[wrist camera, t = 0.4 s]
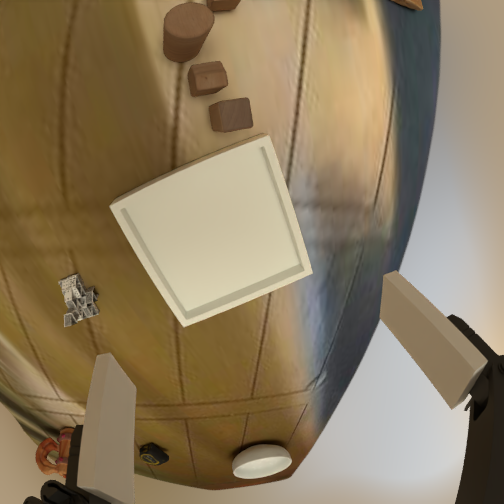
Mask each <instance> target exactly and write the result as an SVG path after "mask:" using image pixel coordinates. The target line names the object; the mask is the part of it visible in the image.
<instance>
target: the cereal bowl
mask: <svg viewBox="0 0 504 504" xmlns="http://www.w3.org/2000/svg"><path fill="white" fill-rule="evenodd" d="M291 463H292V459H291V457H290V454H289V453H288V451H287V450H286V449H284V448H283V447H280V446H278V445H267V444H259V445H254V446H251V447H249V448H247V449H246V450H244V451H242V452H241V453H239V454H238V455H237V456H236V457H235V459H234V460H233V464H232V468H233V473H234V475H235V476H237V477H240V478H260V477H265V476H269V475H272V474H275V473H278V472H280V471H282V470H284V469H286V468H287V467H288V466H289V465H290V464H291Z"/></svg>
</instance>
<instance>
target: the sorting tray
mask: <svg viewBox="0 0 504 504" xmlns="http://www.w3.org/2000/svg"><path fill="white" fill-rule="evenodd" d="M109 207H110V209H111V210H112V212H113V214H114V216H115V218H116V220H117V221H118V223H119V225H120V227H121V229H122V230H123V232H124V234H125V236H126V237H127V239H128V241H129V243H130V244H131V246H132V248H133V249H134V251H135V253H136V255H137V256H138V258H139V260H140V261H141V263H142V264H143V266H144V268H145V269H146V271H147V273H148V274H149V276H150V277H151V279H152V281H153V282H154V284H155V285H156V287H157V288H158V290H159V292H160V293H161V295H162V296H163V298H164V299H165V301H166V302H167V304H168V305H169V307H170V308H171V310H172V311H173V313H174V314H175V316H176V317H177V318H178V320H179V321H180V323H181V324H182V326H183V327H186V326H188V325H191V324H193V323H196V322H198V321H201V320H204V319H206V318H209V317H211V316H214V315H216V314H218V313H221V312H223V311H226V310H228V309H231V308H233V307H236V306H238V305H240V304H243V303H245V302H248V301H250V300H252V299H255V298H257V297H259V296H262V295H264V294H267V293H269V292H271V291H274V290H276V289H278V288H280V287H283V286H285V285H287V284H290V283H292V282H294V281H296V280H299V279H301V278H303V277H305V276H308V275H310V274H312V273H313V272H312V269H311V265H310V262H309V258H308V255H307V251H306V248H305V244H304V241H303V238H302V234H301V231H300V228H299V224H298V221H297V218H296V215H295V211H294V208H293V205H292V202H291V199H290V195H289V192H288V189H287V186H286V183H285V180H284V177H283V174H282V171H281V168H280V165H279V162H278V159H277V156H276V153H275V150H274V147H273V144H272V141H271V139H270V136H269V135H267V134H264V133H262V134H259V135H257V136H254V137H251V138H249V139H246V140H243V141H241V142H238V143H235V144H233V145H230V146H228V147H225V148H223V149H220V150H218V151H215V152H213V153H211V154H208V155H206V156H204V157H201V158H199V159H197V160H194V161H192V162H190V163H187V164H185V165H183V166H181V167H179V168H176V169H174V170H172V171H170V172H168V173H166V174H163V175H161V176H159V177H157V178H155V179H153V180H151V181H149V182H147V183H145V184H143V185H141V186H139V187H137V188H135V189H133V190H131V191H129V192H127V193H125V194H123V195H121V196H119V197H118V198H116V199H114V201H113V202H112V203H111V205H110V206H109Z"/></svg>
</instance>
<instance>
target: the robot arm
mask: <svg viewBox="0 0 504 504" xmlns="http://www.w3.org/2000/svg"><path fill="white" fill-rule="evenodd" d="M380 319H381V320H382V321H383V322H384V324H385V325H386V326H387V327H388V328H389V330H390V331H391V332H392V333H393V334H394V336H395V337H396V338H397V339H398V341H399V342H400V343H401V344H402V346H403V347H404V348H405V349H406V350H407V352H408V353H409V354H410V355H411V357H412V358H413V359H414V360H415V362H416V363H417V364H418V366H419V367H420V368H421V370H422V371H423V372H424V373H425V375H426V376H427V377H428V378H429V380H430V381H431V383H432V384H433V385H434V387H435V388H436V389H437V391H438V392H439V393H440V394H441V396H442V397H443V399H444V400H445V401H446V403H447V404H448V405H449V407H450V408H451V409H453V408H455V407H456V406H457V405H459V404H460V403H462V402H463V401H464V400H465V399H466V397H467V396H468V394H469V393H470V395H471V396H472V398H471V399H470V401H469V402H468V404H467V405H466V407H465V411H467V410H468V408H469V407H470V418H469V429H468V438H467V446H466V453H465V459H464V466H463V471H462V476H461V481H460V485H459V490H458V494H457V498H456V502H455V504H504V355H500V356H499V355H497V354H496V353H495V352H494V351H493V350H492V349H491V348H490V347H489V346H488V345H487V344H486V343H485V342H484V341H483V340H482V338H481V337H480V336H479V335H478V334H475V331H474V330H472V329H471V328H469V325H467V324H466V323H465V322H464V321H463V320H462V319H461V318H459V317H457V316H455V315H453V314H452V315H450V316H448V317H445V316H444V315H443V314H442V313H441V312H440V311H439V310H438V309H437V308H436V307H435V306H434V305H433V304H432V303H431V302H430V301H429V300H428V299H427V298H425V296H424V295H422V294H421V293H420V292H419V291H418V290H417V289H416V288H415V287H414V286H413V285H412V284H411V283H409V282H408V281H407V280H406V279H405V278H404V277H403V276H402V275H400V274H399V273H398V272H397V271H393V272H391V273H388V274H385V275H384V276H383V289H382V300H381V310H380ZM135 402H136V387H135V386H134V384H133V383H132V382H131V380H130V379H129V378H128V376H127V375H126V374H125V372H124V371H123V370H122V368H121V367H120V365H119V364H118V363H117V361H116V360H115V358H114V357H113V356H112V354H111V353H107V354H102V355H97V358H96V363H95V367H94V371H93V376H92V381H91V385H90V390H89V396H88V401H87V407H86V412H85V418H84V425H76V427H75V429H74V431H73V433H72V435H71V441H70V448H69V456H68V463H67V473H66V483H65V485H63V484H61V483H60V482H58V481H56V480H49V481H47V482H45V483H44V485H43V486H42V488H41V500H40V499H38V498H36V497H33V496H30V497H28V498H26V499H25V501H24V503H23V504H111V503H112V504H135V495H134V493H135V492H134V423H135Z"/></svg>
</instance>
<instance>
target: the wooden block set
mask: <svg viewBox="0 0 504 504" xmlns="http://www.w3.org/2000/svg"><path fill="white" fill-rule="evenodd" d="M240 1H241V0H207V5H208V7H207V6H205V5H203V4H199V3H184V4H180V5H178V6H176V7H174V8H172V9H171V10H170V11H169V12H168V13H167V14H166V16H165V18H164V36H163V51H164V54H165V56H166V57H167V58H168V59H170V60H172V61H176V62H185V61H188V60H191V59H192V58H194V57H195V56H196V55H197V54H198V53H199V51H200V49H201V47H202V45H203V43H204V41H205V39H206V37H207V36H208V34H209V32H210V30H211V28H212V26H213V24H214V15H213V12H212V11H218V10H230V9H235V8H236V6H237V5H238V4H239V2H240ZM188 80H189V86H190V91H191V96H193V97H195V96H200V95H206V94H211V93H216V92H218V91H220V90H221V89H223V88H225V87H226V86H228V80H227V74H226V71H225V69H224V67H223V65H222V63H221V62H220V61H215V62H208V63H202V64H196V65H192V66H191V68H190V70H189V72H188ZM209 112H210V118H211V124H212V129H213V131H218V132H231V131H236V130H242V129H248V128H251V127H253V120H252V114H251V108H250V101H249V99H248V98H239V99H232V100H226V101H220V102H218V103H215V104H213V105H211V106H209Z"/></svg>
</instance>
